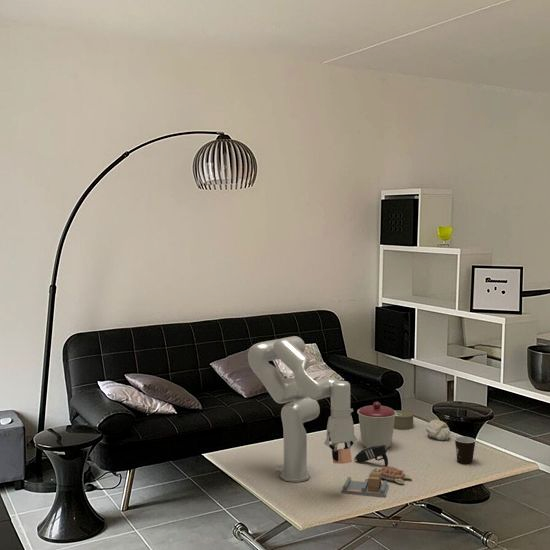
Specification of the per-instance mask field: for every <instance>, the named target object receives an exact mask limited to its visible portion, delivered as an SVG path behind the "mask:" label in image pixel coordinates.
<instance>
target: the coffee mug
mask: <svg viewBox="0 0 550 550" xmlns="http://www.w3.org/2000/svg"><path fill="white" fill-rule="evenodd" d="M454 443H455V452H456V453H455V454H456V463H458V464H460V465H465V466H466V465H471V464H473V461H474V460H473V459H474V453H475V448H476V447H475V445H476V439H475V438H473V437H469V436H457V437H455V438H454Z"/></svg>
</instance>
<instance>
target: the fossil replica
mask: <svg viewBox="0 0 550 550" xmlns="http://www.w3.org/2000/svg"><path fill="white" fill-rule="evenodd" d="M425 431H426V433H427V434H428V435H429V437H430V438H433V439H436V440H437V441H444V440H448V439H449V438H450V435H451V431H450V427H449V426H448V424H447V423H446V422H444V421H442V420H440V419H433V420H430V421H429V423H428V425H427V426H426V427H425Z"/></svg>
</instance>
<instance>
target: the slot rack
mask: <svg viewBox="0 0 550 550" xmlns="http://www.w3.org/2000/svg"><path fill="white" fill-rule="evenodd" d="M382 481H383V483H381V486H380V489H379V492H373V491H368V478H365V479H364V481H360V480H359V481H358V480H352V477H351V476H348V477H347V478H346V480H345V482H344V484H343V486H342V489H341V491H340V492H341V494H348V495H349V494H350V495H359V496H365V497H366V496H369V497H376V498H377V497H378V498H386V496H387V494H388V490H389V487H390V485H389V484H388V480H382Z"/></svg>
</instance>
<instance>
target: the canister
mask: <svg viewBox="0 0 550 550" xmlns="http://www.w3.org/2000/svg"><path fill="white" fill-rule="evenodd" d="M381 404H382V403H381V402H379V401H374V402H373V404H372V405H371V404H370V405H365V406H363V407H360V408H359V409H357V412H356V413H357V414H358V421H359V433H360V439H361V442H362V445H363V446H364V447H365V448H368V447H373V446H382V445H385V446H386V448H387V449H389V447H391V445H392V441H393V434H394V430H395V429H394V421H395V415H396V414H397V412H396V410H394V409H393V408H392V407H389V406H385V405H381Z"/></svg>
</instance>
